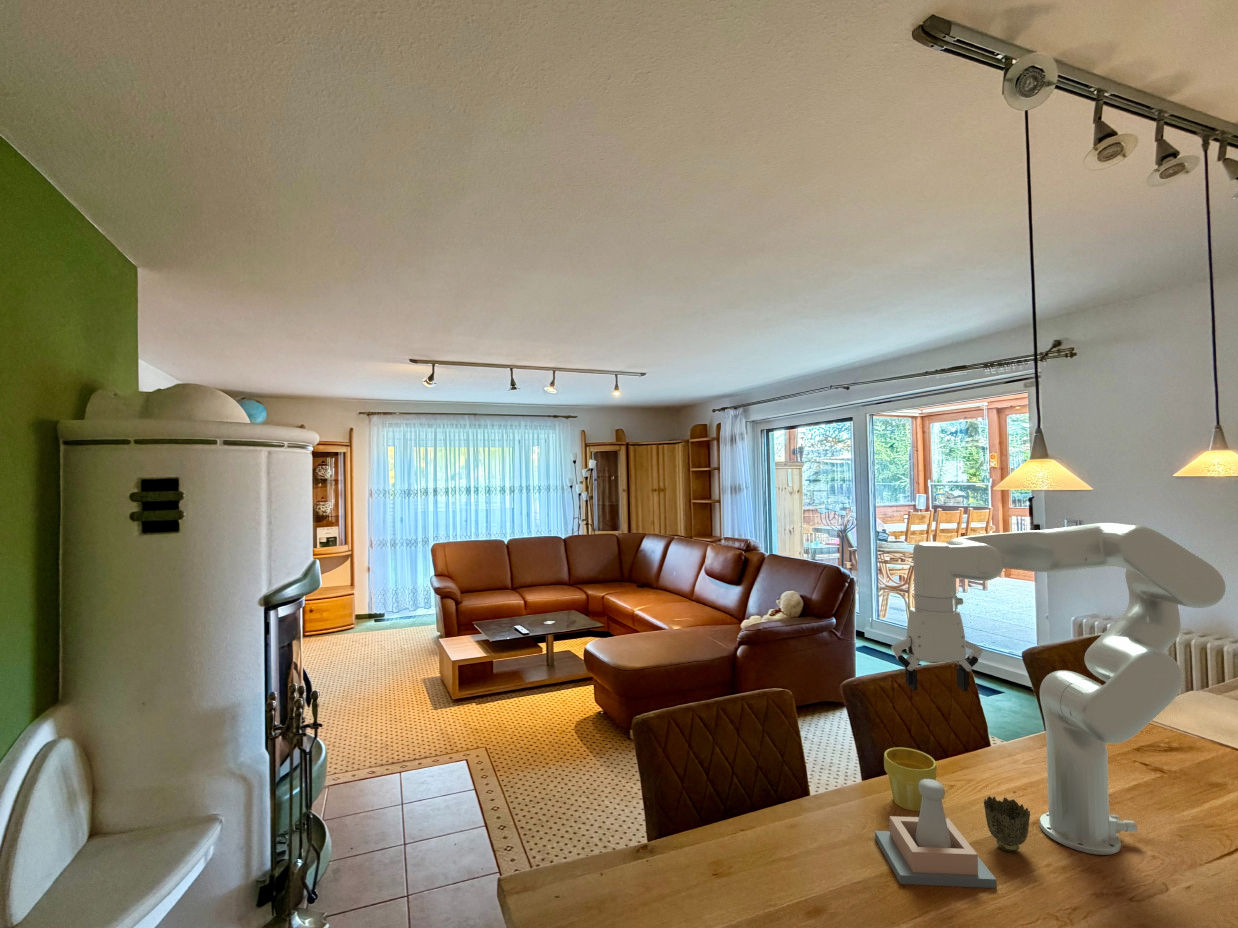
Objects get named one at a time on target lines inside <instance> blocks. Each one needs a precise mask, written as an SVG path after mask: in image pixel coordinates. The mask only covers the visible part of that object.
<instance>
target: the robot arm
mask: <svg viewBox="0 0 1238 928" xmlns="http://www.w3.org/2000/svg"><path fill="white" fill-rule="evenodd" d="M912 554H913V555H912V556H913V557H912V558H913V559H912V560H913V564H912V565H913V591H914V593H913V594H914V596H913V599H914V607H911V608H909V613H908V619H907V625H906V626H907V627H906V638H904V639H902V640H900V641H898V642H896V643H894V644H892V645H891V646H890V649H891V651H892V652H893V654H894V656H895V659H896V660H897V661H899V662H900V663H901V664H902V666H904V671H905V674H904V675H905V683H906V685H907V686H908V687H909V689H911V690H912V691H914V692H915V691H918V672H917V670H916V669H915V668H916V667H917V666H918V665H919V664H920V663H921V662H927V663H928V662H929V663H930V662H933V663H934V662H935V663H937V662H938V663H956V664H958V666H957V667H956V686H957V687H958V688H959V689H961V691H963V692H967V693H968V691H969V686H970V685H971V684H970V672H971V671H972V670H973V668H974V666H975V665H976V664H978V662H979V659H980V657H981V655H982V653H983V651H984V650H983V648H981V647H980V646H978V645H976V644H974V643H973V642H971V641H969V640H967V639H966V634H965V628H964V624H963V619H962V616H961V612H960V611H959V610H958V606H961V605H964V599H963V597H958V595H957V579H962V580H968V581H975V582H986V581H987V582H988V581H991V580H994V579H996V578H997V577H999V576H1000V575H1001V574H1002V572H1003V571H1004V569H1010V570H1011V569H1013V570H1020V571H1021V570H1022V571H1029V572H1035V573H1061V572H1068V571H1069V572H1070V571H1076V570H1086V569H1094V568H1095V569H1097V568H1104V567H1117V568H1122V569H1125V572H1124V573H1125V574H1124V576H1125V583H1126V586H1127V590H1128V596H1129V597H1128V606H1127V607H1126V610H1125V611H1124V613H1123V614H1122V615H1120V617H1119V618H1118V619H1117V620H1116V621H1115V622H1114V623H1113V624H1112V625H1111V626H1110V627H1109V628H1108V629H1106V630H1105V632H1103V633H1102V634H1101V635H1100V636H1099V637H1097V639H1096V640H1095V641H1094V642H1092V644H1091V645H1090V646H1089V647H1088V648H1087V649H1086V651H1085V653H1084V658H1083V659H1084V660H1083V661H1084V664H1085V666H1086V668H1087V670H1089V672H1090V673H1092V674H1093V675H1094V676H1095V677H1096V678H1098V679H1100V680H1102V681H1104V682H1105V683H1104V684H1101V683H1100V682H1098V681H1097V680H1096V681H1095V680H1094V679H1092V678H1089V677H1087V676H1085V675H1083V674H1081V673H1078V672H1075V671H1071V670H1065V669H1064V670H1055V671H1053V672H1050V673H1049V674H1047V675H1046V676H1045V677H1044V678H1043V680H1042V682H1041V683H1040V687H1039V699H1040V705H1041V709H1042V715H1043V718H1044V719H1043V720H1044V725H1045V733H1046V734H1045V736H1046V737H1045V738H1046V764H1047V765H1046V767H1047V769H1046V770H1047V772H1046V773H1047V796H1048V797H1047V801H1048V803H1047V804H1048V805H1047V806H1048V812H1045V813H1043V814H1042V815H1041V816H1040V817H1039V827H1040V829H1041V831H1042V832H1043V833H1044V834H1046V835H1047V836H1048V837H1049V838H1050V839H1052V840H1053V841H1055V842H1057V843H1059V844H1060V845H1062V846H1065V847H1068V848H1069V849H1072V850H1075V851H1080V852H1083V853H1085V854H1092V855H1099V856H1100V855H1101V856H1102V855H1103V856H1105V855H1106V856H1109V855H1114V854H1116V853H1118V852H1119V851H1120V850H1121V848H1122V846H1121V843H1122V842H1121V839H1120V837H1119V836H1118V835H1117V834H1120V833H1121V832H1126V833H1137V832H1138V826H1137V824H1136V822H1135V821H1134V820H1128V819H1127V820H1126V819H1125V820H1124V819H1122V820H1120V819H1121V818H1120V817H1119V815H1118V814H1110V802H1109V801H1110V800H1109V799H1110V798H1109V796H1110V795H1109V776H1108V775H1109V769H1108V768H1109V767H1108V766H1109V765H1108V763H1109V762H1108V761H1109V760H1108V758H1109V757H1108V750H1107V744H1110V745H1111V744H1113V745H1115V744H1116V745H1117V744H1121V743H1125V742H1127V741H1129V740H1131V739H1132V738H1134V737H1135V736H1136V735H1138V734H1139V733H1140V732H1141V731H1142V730H1143V729H1145V727H1147V726H1148V725H1149V724H1150V723H1151V722H1152V721H1153V720H1154V719H1155V718H1156V717H1157V716H1159V715H1160V714H1161V712H1163V711H1164V710H1165V709H1166V708H1168V706H1170V704H1172V703H1173V702H1174V701H1175V700H1176V698H1177V697H1178V696H1179V693H1180V691H1181V688H1182V686H1183V677H1184V676H1183V672H1182V669H1181V667H1180V666H1179V664H1178V662H1177V661H1176V660H1175V659H1174V658H1173V657H1172V656H1170V655H1169V654H1167V653H1165V652H1166V651H1168V649H1169V648H1170V647H1171V646H1172V645H1173V644H1175V641H1176V640H1177V639H1178V637H1179V635H1180V632H1181V616H1180V611H1179V610H1180V609H1179V606H1182V607H1185V608H1187V607H1188V608H1192V609H1204V608H1205V609H1206V608H1211V607H1212V606H1215V605H1216V604H1218V603H1219V602H1220V601H1222V599H1223V598H1224V597H1225V596H1224V595H1226V594H1225V593H1226V583H1225V579H1224V577H1223V575H1222V574H1221V573H1220V572H1219V571H1218V570H1217V569H1216V567H1214V566H1213V565H1212V564H1210V563H1209V562H1207V561H1206V560H1205V559H1203V558H1201V557H1199V556H1198V555H1196V554H1195V553H1193V552H1191V551H1190V550H1188V549H1186V548H1185V547H1183V546H1182V545H1180V544H1179V543H1177V542H1176V541H1174V540H1173V539H1170V538H1169V537H1167V536H1166V535H1164V534H1162V533H1160V532H1159V531H1156V530H1155V529H1153V528H1149V527H1147V526H1144V525H1138V524H1137V525H1136V524H1129V523H1121V522H1120V523H1119V522H1098V523H1097V522H1096V523H1089V524H1081V525H1073V526H1066V527H1058V528H1057V527H1055V528H1049V529H1048V528H1047V529H1040V530H1039V529H1037V530H1023V531H1015V532H1013V531H1012V532H998V533H988V534H987V533H986V534H976V535H968V536H961V537H956V538H952V539H949V540H948V541H947V542H941V541H921V542H917V543H915V545H914V546H913V550H912ZM967 648H968V649H969V650H970V651H971V652H970V654H969V655H968V656H967ZM905 649H906V652H907V654H908V656H906V657H905V656H904V654H903V652H902V651H903V650H905Z"/></svg>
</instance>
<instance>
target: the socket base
mask: <svg viewBox="0 0 1238 928" xmlns="http://www.w3.org/2000/svg"><path fill="white" fill-rule="evenodd" d="M945 818H946V817H945ZM918 819H919V816H894V815H893V816H892V815H890V816H889V831H887V830H875V831H874V839H875V841H876V843H877V844H878V846H879V848H880V850H881V851H882V853H883V856H884V857H885V859H886V860H887V862H888V865H889V866H890V868H891V869H892V871H893V873H894V875H895V876H896V879H897V880H898V882H899V884H900V885H917V886H919V885H920V886H938V887H939V886H944V887H961V888H962V887H965V888H984V889H985V888H986V889H988V888H989V889H997V887H998V885H997V878H996V877H995V875H993V873H992V872H991V871H990V870H989V868H988V867H987V866H986V865H985V863H984V862H983V861H982V860H981V858H980V857H979V856H978V855H979V854H978V853H977V852H976V850H975V849H974V848H973V847H972V845H971V844H970V843H969V841H968V840H966V838H965V837H964V836H963V834H962V833H961V832H960V831H959V829H958V828H957V827H956V826H955V825H954V824H953V822H952V821H951V819H950V818H948V817H947V818H946V822H947V827H948V832H949V836H950V841H951V848H932V847H919V845H918V843H917V841H916V837H915V835H916V830H917V825H918Z"/></svg>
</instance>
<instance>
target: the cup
mask: <svg viewBox="0 0 1238 928" xmlns="http://www.w3.org/2000/svg"><path fill="white" fill-rule="evenodd" d="M983 807H984V813H985V819H986V825H987V828H988V830H989V832H990V834H991V835H992V837H993V838H994V839H996V840H995V842H996V845H997V847H998V848H999V849H1001V850H1002V851H1003V852H1007V853H1018V851H1019V850H1020V845H1023V844H1024V843H1025V842H1026V840H1027V837H1028V835H1029V828H1030V820H1031V812H1030V810H1029V808H1028V807H1026V808H1025V806H1024V805H1023V803H1021V804H1019V803H1018V802H1017V801H1016V799H1008V798H1007V797H1003V799H1002V800H1001V799H999V800H998V799H996V796H990V795H989V796H987V798H984V800H983Z"/></svg>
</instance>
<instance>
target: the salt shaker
mask: <svg viewBox="0 0 1238 928" xmlns="http://www.w3.org/2000/svg"><path fill="white" fill-rule="evenodd" d="M918 787H919V792H920V794H921V795H922V796H923V797H922V803H921V809H920V811H919V815H918V817H919V819H918V825H917V830H916V835H915V837H916V841H917V843H918V845H919V847H932V848H951V841H950V836H949V832H948V827H947V822H946V814H945V809H944V804H943V800H944V798H945V795H946V791H945V790H946V789H945V787H944V785H943V784H942V783H941V782H939V781H938V780H932V779H923V780H921V781H920V782H919V786H918Z"/></svg>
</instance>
